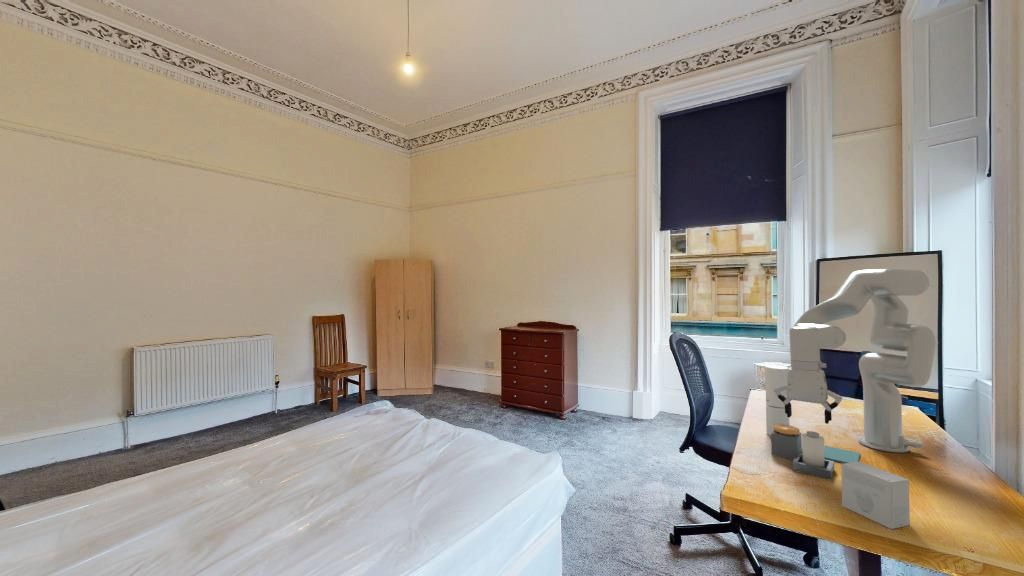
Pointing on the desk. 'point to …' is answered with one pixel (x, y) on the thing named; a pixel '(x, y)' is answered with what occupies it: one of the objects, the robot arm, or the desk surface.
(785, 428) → the plunger
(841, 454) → the pad
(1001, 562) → the desk surface
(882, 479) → the skincare box
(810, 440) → the cylinder
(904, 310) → the robot arm
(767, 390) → the cylindrical container
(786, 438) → the plunger housing
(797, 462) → the frame
